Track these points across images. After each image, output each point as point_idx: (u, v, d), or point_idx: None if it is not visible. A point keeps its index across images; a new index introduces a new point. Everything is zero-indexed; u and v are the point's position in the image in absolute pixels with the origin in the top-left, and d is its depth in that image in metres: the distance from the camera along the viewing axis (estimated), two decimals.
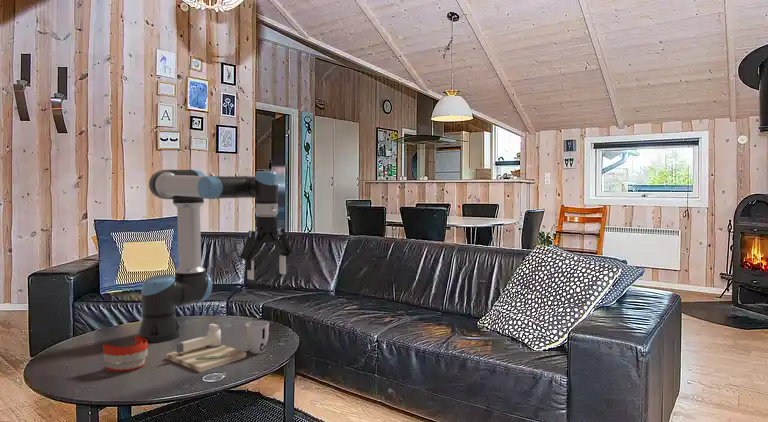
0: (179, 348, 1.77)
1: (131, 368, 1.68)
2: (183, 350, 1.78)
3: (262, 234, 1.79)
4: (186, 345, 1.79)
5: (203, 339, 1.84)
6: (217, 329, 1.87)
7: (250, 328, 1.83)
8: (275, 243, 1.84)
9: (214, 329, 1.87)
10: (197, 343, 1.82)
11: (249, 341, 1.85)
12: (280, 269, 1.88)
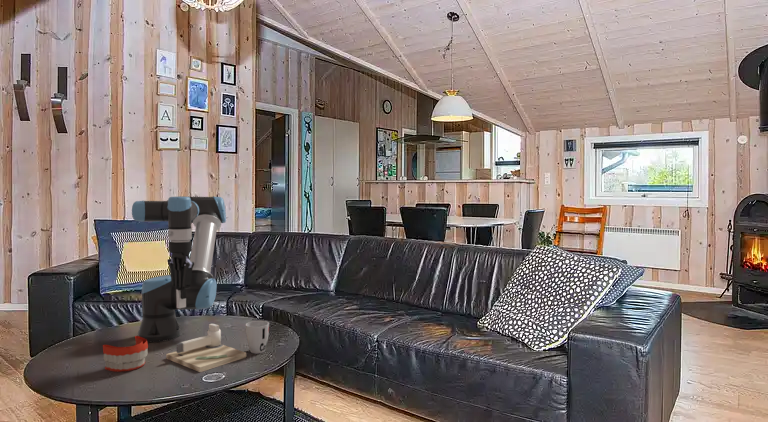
0: (179, 348, 1.77)
1: (131, 368, 1.68)
2: (183, 350, 1.78)
3: (173, 257, 1.84)
4: (186, 345, 1.79)
5: (203, 339, 1.84)
6: (217, 329, 1.87)
7: (250, 328, 1.83)
8: None
9: (214, 329, 1.87)
10: (197, 343, 1.82)
11: (249, 341, 1.85)
12: None
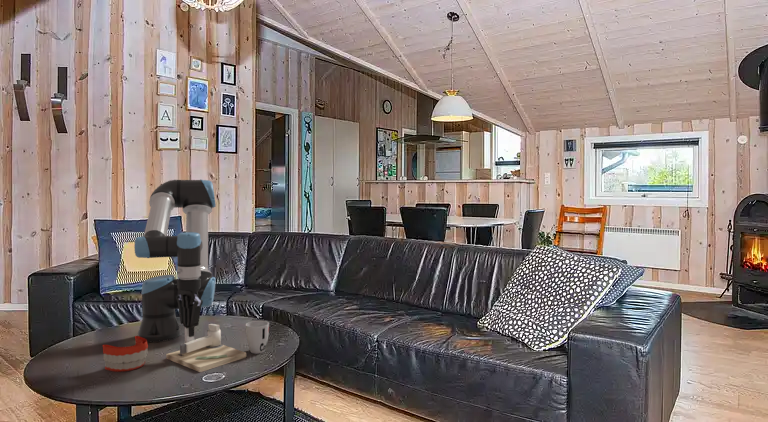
0: (183, 349, 1.76)
1: (131, 368, 1.68)
2: (186, 351, 1.77)
3: (182, 294, 1.81)
4: (190, 346, 1.78)
5: (205, 339, 1.83)
6: (218, 329, 1.87)
7: (250, 328, 1.83)
8: None
9: (215, 329, 1.87)
10: (199, 343, 1.81)
11: (249, 341, 1.85)
12: None
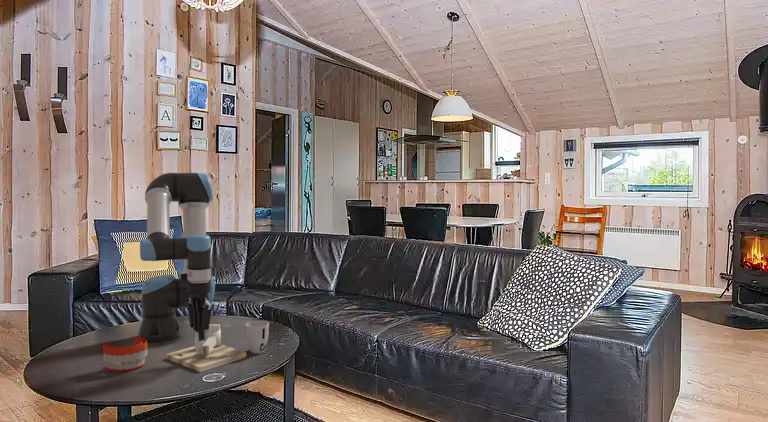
0: (206, 351, 1.75)
1: (131, 368, 1.68)
2: (208, 352, 1.76)
3: (192, 297, 1.78)
4: (209, 347, 1.77)
5: (214, 339, 1.83)
6: (219, 328, 1.88)
7: (250, 328, 1.83)
8: None
9: (217, 328, 1.88)
10: (212, 344, 1.81)
11: (249, 341, 1.85)
12: None
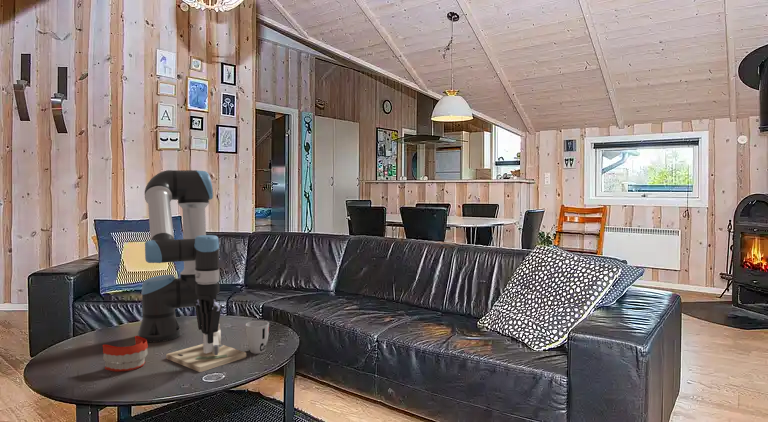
0: (217, 350, 1.76)
1: (131, 368, 1.68)
2: (218, 351, 1.77)
3: (200, 299, 1.75)
4: None
5: (218, 339, 1.84)
6: (219, 327, 1.89)
7: (250, 328, 1.83)
8: None
9: (218, 328, 1.88)
10: None
11: (249, 341, 1.85)
12: None
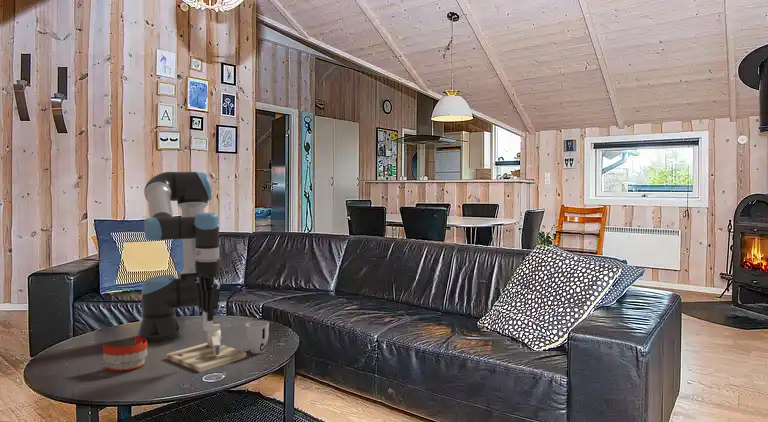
0: (218, 350, 1.76)
1: (131, 368, 1.68)
2: (219, 351, 1.77)
3: (200, 276, 1.74)
4: None
5: None
6: (219, 327, 1.89)
7: (250, 328, 1.83)
8: None
9: (218, 328, 1.88)
10: None
11: (249, 341, 1.85)
12: None
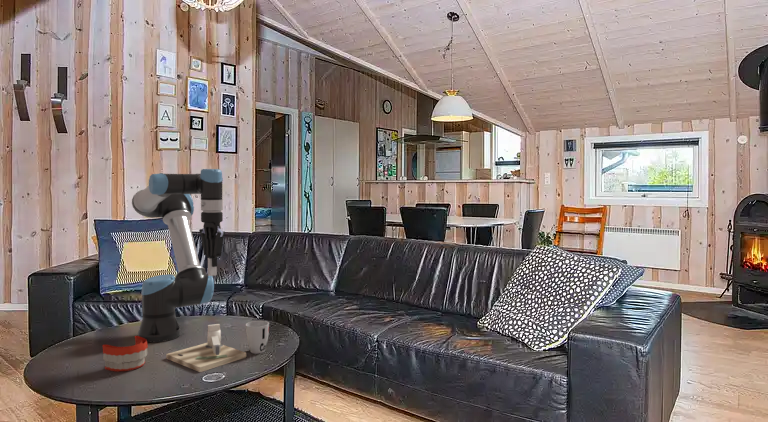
0: (218, 350, 1.76)
1: (131, 368, 1.68)
2: (219, 351, 1.77)
3: (205, 227, 1.92)
4: None
5: None
6: (219, 327, 1.89)
7: (250, 328, 1.83)
8: None
9: (218, 328, 1.88)
10: None
11: (249, 341, 1.85)
12: None
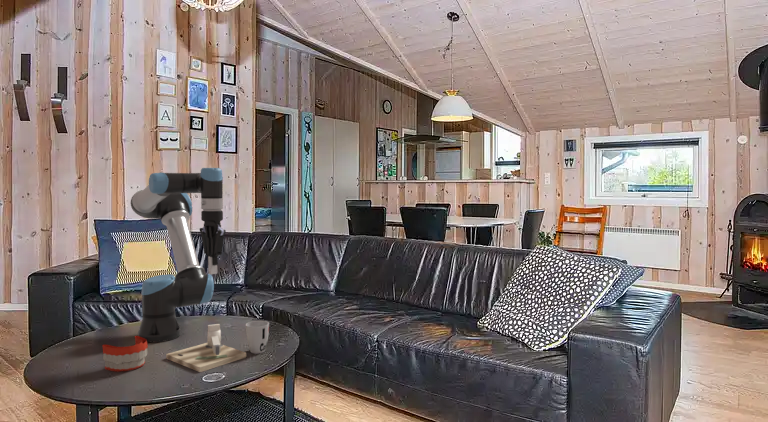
0: (218, 350, 1.76)
1: (131, 368, 1.68)
2: (219, 351, 1.77)
3: (205, 225, 1.93)
4: None
5: None
6: (219, 327, 1.89)
7: (250, 328, 1.83)
8: None
9: (218, 328, 1.88)
10: None
11: (249, 341, 1.85)
12: None
